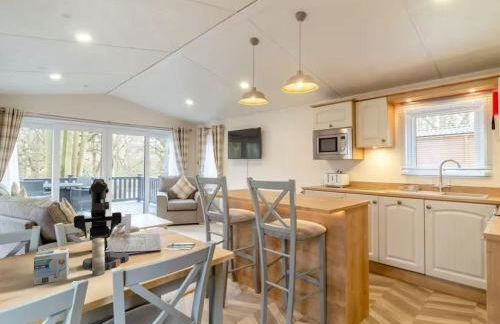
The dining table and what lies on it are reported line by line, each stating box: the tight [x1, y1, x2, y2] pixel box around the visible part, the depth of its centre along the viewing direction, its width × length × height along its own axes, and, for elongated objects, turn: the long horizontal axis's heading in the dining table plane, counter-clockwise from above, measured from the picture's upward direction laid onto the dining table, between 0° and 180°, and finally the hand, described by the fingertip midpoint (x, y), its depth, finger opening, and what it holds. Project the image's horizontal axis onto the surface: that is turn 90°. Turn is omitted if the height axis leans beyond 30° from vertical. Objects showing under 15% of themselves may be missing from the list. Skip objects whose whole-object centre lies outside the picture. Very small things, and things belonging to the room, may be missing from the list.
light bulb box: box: [33, 247, 70, 286], centre depth 110 cm, size 11×7×11 cm, turn 117°
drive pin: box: [91, 238, 106, 277], centre depth 115 cm, size 4×4×14 cm
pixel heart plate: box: [82, 250, 130, 271], centre depth 127 cm, size 15×15×2 cm
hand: (98, 236), depth 122 cm, fingers open, 9 cm apart
